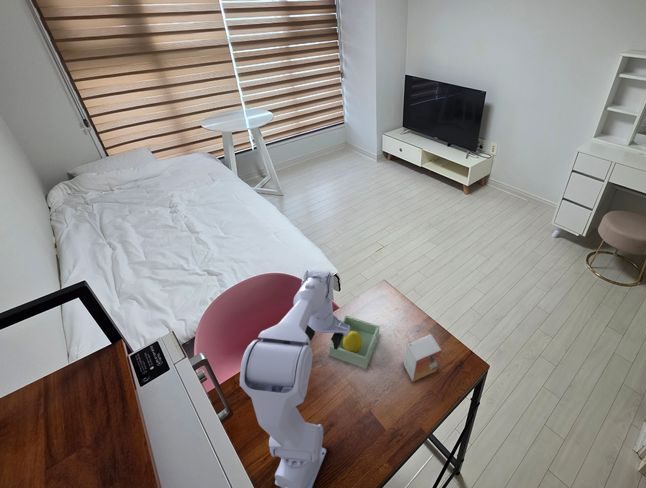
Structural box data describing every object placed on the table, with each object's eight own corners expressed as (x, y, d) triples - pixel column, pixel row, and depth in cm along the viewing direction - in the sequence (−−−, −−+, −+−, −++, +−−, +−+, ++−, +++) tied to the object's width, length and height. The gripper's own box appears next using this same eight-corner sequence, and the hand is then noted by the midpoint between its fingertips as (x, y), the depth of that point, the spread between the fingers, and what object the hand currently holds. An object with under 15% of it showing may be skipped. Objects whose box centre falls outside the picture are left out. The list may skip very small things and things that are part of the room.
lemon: (365, 349, 98) (366, 333, 93) (352, 363, 94) (352, 347, 90) (352, 338, 101) (352, 322, 96) (339, 350, 97) (338, 334, 93)
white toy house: (412, 382, 91) (416, 361, 85) (403, 364, 95) (405, 343, 89) (437, 371, 93) (442, 350, 87) (426, 354, 98) (431, 333, 92)
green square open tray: (366, 368, 93) (366, 359, 90) (330, 356, 96) (329, 346, 93) (378, 335, 102) (379, 326, 99) (345, 324, 105) (345, 315, 102)
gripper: (354, 305, 82) (354, 337, 90) (303, 289, 86) (308, 321, 94) (342, 328, 77) (344, 360, 84) (288, 310, 81) (294, 342, 88)
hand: (324, 341), depth 89 cm, fingers open, 7 cm apart
